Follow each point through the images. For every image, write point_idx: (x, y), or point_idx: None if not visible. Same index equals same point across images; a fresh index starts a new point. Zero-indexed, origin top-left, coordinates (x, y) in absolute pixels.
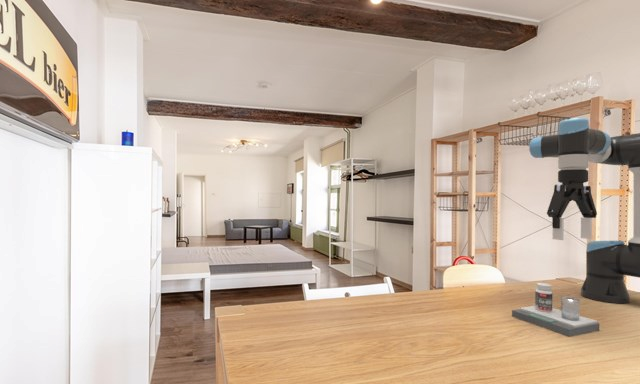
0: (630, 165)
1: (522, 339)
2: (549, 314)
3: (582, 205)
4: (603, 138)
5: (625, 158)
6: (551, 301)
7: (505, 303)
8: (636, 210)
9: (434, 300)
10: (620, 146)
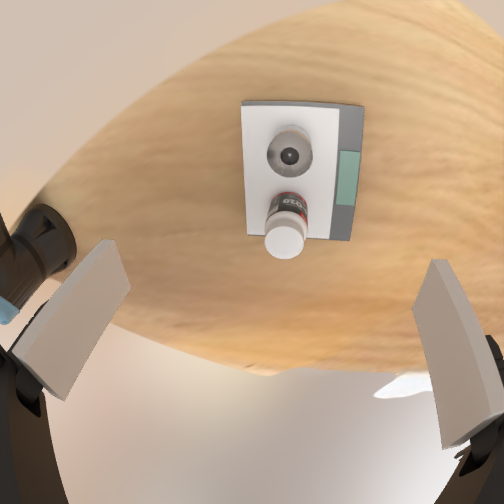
0: None
1: (457, 149)
2: (310, 181)
3: (40, 501)
4: None
5: None
6: (285, 201)
7: (270, 287)
8: None
9: (384, 337)
10: None
